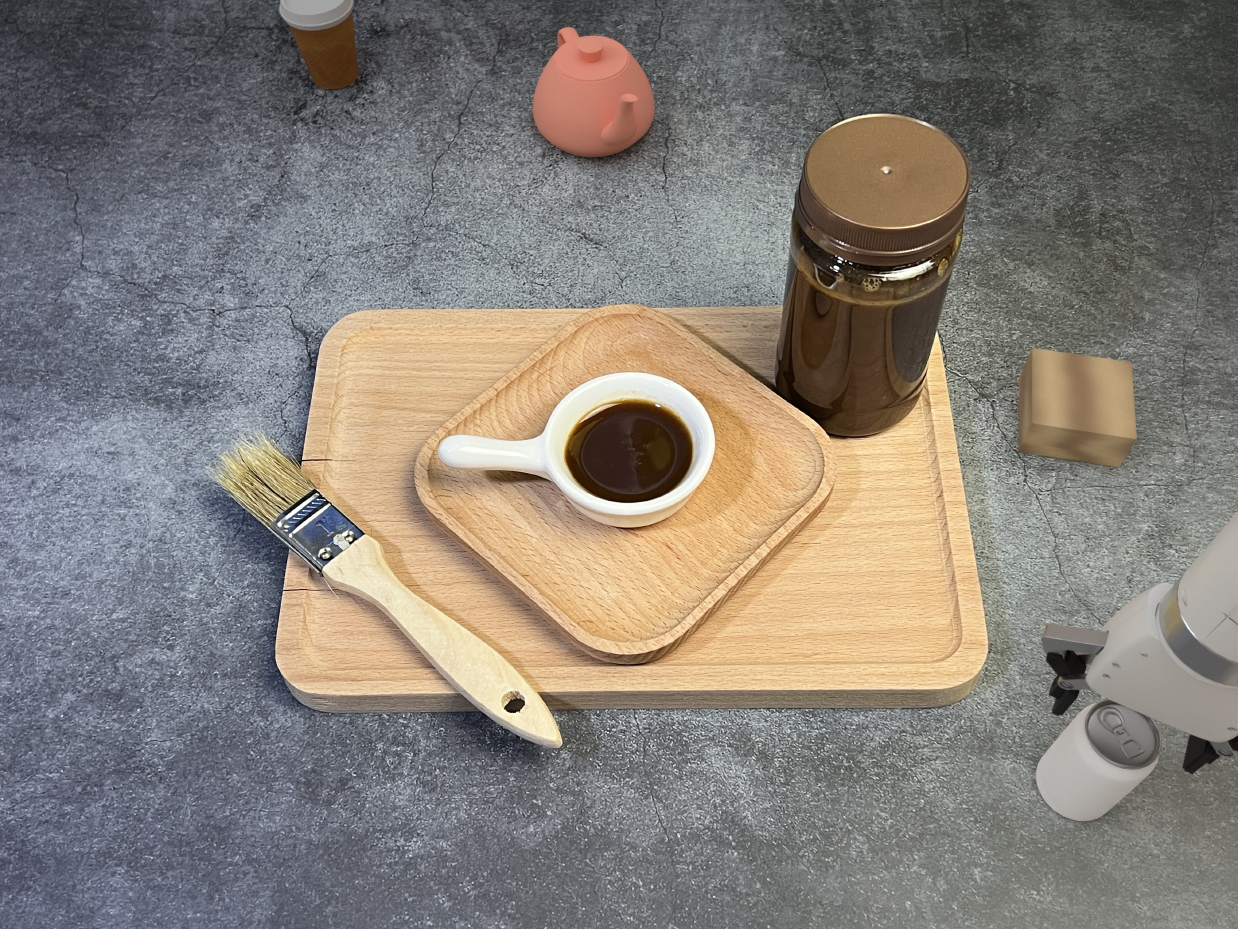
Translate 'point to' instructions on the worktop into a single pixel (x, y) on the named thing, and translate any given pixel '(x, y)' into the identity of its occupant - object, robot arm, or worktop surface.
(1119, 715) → the can
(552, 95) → the teapot
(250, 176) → the worktop surface
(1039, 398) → the block
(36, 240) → the worktop surface
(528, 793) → the worktop surface
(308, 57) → the disposable coffee cup
